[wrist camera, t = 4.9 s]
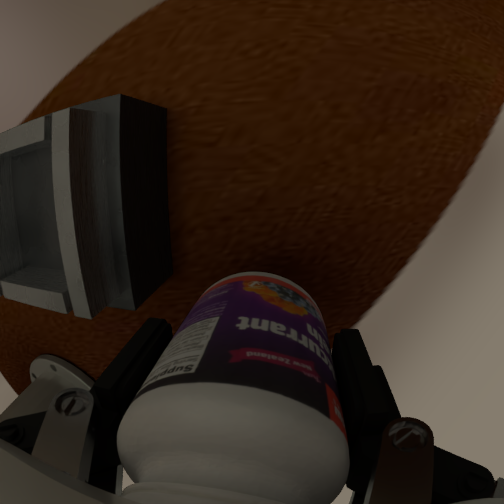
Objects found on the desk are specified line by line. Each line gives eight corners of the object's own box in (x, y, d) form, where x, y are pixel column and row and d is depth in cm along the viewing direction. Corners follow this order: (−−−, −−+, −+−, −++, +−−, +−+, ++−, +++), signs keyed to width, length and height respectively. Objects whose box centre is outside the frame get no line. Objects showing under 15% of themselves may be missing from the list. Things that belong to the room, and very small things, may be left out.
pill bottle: (350, 331, 11) (414, 567, 2) (257, 397, 13) (224, 594, 4) (256, 237, 11) (146, 518, 1) (167, 323, 12) (39, 515, 3)
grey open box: (172, 273, 18) (109, 337, 11) (60, 263, 20) (-10, 303, 12) (166, 108, 15) (85, 84, 8) (48, 133, 16) (-32, 136, 9)
